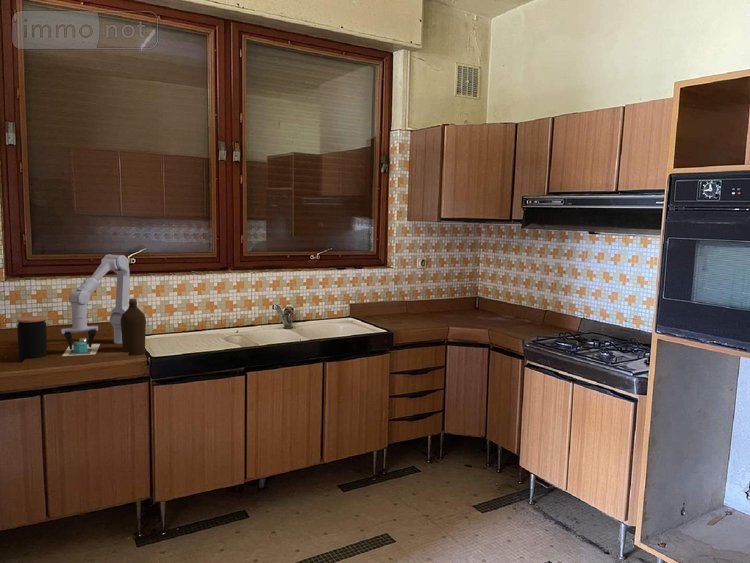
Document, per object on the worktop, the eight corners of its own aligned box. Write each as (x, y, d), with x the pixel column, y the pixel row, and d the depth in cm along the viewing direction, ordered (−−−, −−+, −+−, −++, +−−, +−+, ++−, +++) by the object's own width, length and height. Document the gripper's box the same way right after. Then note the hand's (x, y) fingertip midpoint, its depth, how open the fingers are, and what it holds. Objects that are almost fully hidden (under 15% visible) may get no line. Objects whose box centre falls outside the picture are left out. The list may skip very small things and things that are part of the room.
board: (100, 346, 266) (100, 343, 266) (95, 357, 247) (95, 354, 247) (69, 348, 262) (69, 345, 261) (62, 359, 242) (62, 356, 242)
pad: (91, 349, 255) (91, 348, 254) (89, 353, 247) (89, 352, 247) (71, 350, 252) (71, 349, 252) (69, 354, 244) (69, 353, 244)
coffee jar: (51, 356, 247) (50, 315, 245) (41, 362, 237) (40, 320, 235) (25, 356, 246) (23, 315, 244) (14, 362, 235) (12, 320, 233)
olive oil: (133, 356, 250) (132, 301, 247) (116, 354, 254) (114, 299, 251) (151, 352, 259) (150, 298, 256) (134, 349, 263) (133, 296, 261)
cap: (85, 349, 253) (85, 340, 253) (88, 351, 249) (88, 342, 249) (72, 350, 250) (72, 342, 249) (75, 353, 246) (74, 344, 245)
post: (87, 346, 261) (87, 337, 260) (86, 347, 258) (86, 339, 257) (80, 346, 259) (79, 338, 259) (79, 348, 257) (79, 339, 256)
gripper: (95, 315, 255) (96, 344, 257) (59, 317, 246) (60, 348, 248) (98, 317, 250) (99, 347, 251) (62, 320, 241) (63, 351, 242)
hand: (80, 347), depth 249 cm, fingers open, 7 cm apart
